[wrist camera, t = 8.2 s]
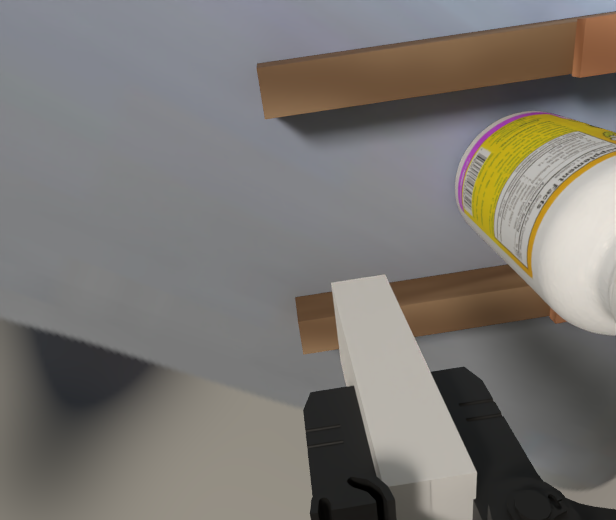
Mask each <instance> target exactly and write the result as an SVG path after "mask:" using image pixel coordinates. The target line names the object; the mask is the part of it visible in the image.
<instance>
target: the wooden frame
mask: <svg viewBox="0 0 616 520" xmlns="http://www.w3.org/2000/svg"><path fill="white" fill-rule="evenodd" d="M615 72H616V11H615V12H608V13H601V14H594V15H587V16H581V17H574V18H567V19H560V20H553V21H546V22H539V23H533V24H526V25H519V26H512V27H505V28H498V29H491V30H485V31H478V32H471V33H464V34H457V35H450V36H444V37H437V38H430V39H423V40H416V41H409V42H402V43H396V44H389V45H382V46H375V47H368V48H361V49H354V50H348V51H341V52H334V53H327V54H320V55H313V56H306V57H300V58H293V59H286V60H279V61H272V62H265V63H258V64H257V73H258V79H259V85H260V91H261V97H262V104H263V110H264V116H265V119H270V118H277V117H284V116H291V115H297V114H304V113H311V112H318V111H324V110H331V109H338V108H345V107H351V106H358V105H365V104H372V103H378V102H385V101H392V100H399V99H405V98H412V97H419V96H426V95H432V94H439V93H446V92H453V91H459V90H466V89H473V88H480V87H486V86H493V85H500V84H507V83H513V82H520V81H527V80H534V79H541V78H547V77H554V76H561V75H568V74H572V76H573V77H579V78H582V77H588V76H595V75H602V74H608V73H615ZM389 284H390V286H391V288H392V291H393V293H394V295H395V297H396V299H397V301H398V303H399V306H400V308H401V310H402V312H403V314H404V316H405V319H406V321H407V323H408V325H409V327H410V329H411V331H412V334H413V336H414V337H418V336H424V335H430V334H437V333H443V332H449V331H456V330H462V329H469V328H475V327H481V326H488V325H494V324H500V323H507V322H513V321H519V320H526V319H532V318H539V317H545V316H550V318H551V319H552V320H553V321H554V322H555V324H556V323H562V322H567V321H566V320H564V319H563V318H562V317H560V316H559V315H558V314H557V313H556V312H555V311H554V310H553V309H552V308H551V307H550V306H549V305H548V304H547V303H546V302H545V301H544V300H543V299H542V298H541V297H540V296H539V295H538V294H537V293H536V292H535V291H534V290H533V289H532V288H531V287H530V286H529V285H528V284H527V283H526V282H525V281H524V280H523V279H522V278H521V277H520V276H519V275H518V274H517V273H516V272H515V271H514V270H513V269H512V268H511V267H510V266H509V265H501V266H495V267H488V268H482V269H475V270H469V271H462V272H456V273H450V274H443V275H437V276H430V277H424V278H417V279H411V280H404V281H398V282H391V283H389ZM295 299H296V308H297V316H298V324H299V330H300V336H301V342H302V348H303V354H309V353H316V352H322V351H329V350H335V349H339V343H338V334H337V326H336V318H335V310H334V302H333V294H332V292H327V293H320V294H314V295H308V296H301V297H295Z"/></svg>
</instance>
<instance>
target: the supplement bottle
mask: <svg viewBox="0 0 616 520" xmlns="http://www.w3.org/2000/svg"><path fill="white" fill-rule="evenodd" d="M455 195H456V201H457V205H458V208H459V210H460V213H461V215H462V216H463V218H464V219H465V221H466V222H467V223H468V225H469V226H470V227H471V228H472V229H473V230H474V231H475V232H476V233H477V234H478V235H479V236H480V237H481V238H482V239H483V240H484V241H485V242H486V243H487V244H488V245H489V246H490V247H491V248H492V249H493V250H494V251H495V252H496V253H497V254H498V255H499V256H500V257H501V258H502V259H503V260H504V261H505V262H506V263H507V264H508V265H509V266H510V267H511V268H512V269H513V270H514V271H515V272H516V273H517V274H518V275H519V276H520V277H521V278H522V279H523V280H524V281H525V282H526V283H527V284H528V285H529V286H530V287H531V288H532V289H533V290H534V291H535V292H536V293H537V294H538V295H539V296H540V297H541V298H542V299H543V300H544V301H545V302H546V303H547V304H548V305H549V306H550V307H551V308H552V309H553V310H554V311H555V312H556V313H557V314H558V315H559V316H560V317H562V318H563V319H564V320H566V321H567V322H569V323H571V324H572V325H574V326H576V327H579V328H581V329H584V330H586V331H589V332H593V333H598V334H604V335H615V336H616V133H615V132H612V131H609V130H605V129H602V128H599V127H595V126H592V125H589V124H586V123H582V122H579V121H576V120H573V119H570V118H566V117H563V116H560V115H556V114H552V113H548V112H542V111H525V112H520V113H515V114H512V115H509V116H506V117H504V118H501V119H499V120H497V121H496V122H494V123H493V124H491V125H490V126H488V127H487V128H486V129H485V130H483V131H482V132H481V133H480V134H479V135H478V136H477V137H476V138H475V139H474V140H473V141H472V143H471V144H470V145H469V147H468V148H467V150H466V152H465V153H464V155H463V157H462V159H461V161H460V164H459V167H458V170H457V174H456V180H455Z"/></svg>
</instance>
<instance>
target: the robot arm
mask: <svg viewBox="0 0 616 520" xmlns="http://www.w3.org/2000/svg"><path fill="white" fill-rule="evenodd" d="M331 285H332V294H333V302H334V310H335V318H336V326H337V334H338V343H339V351H340V359H341V364H342V369H343V373H344V377H345V382H346V386H347V387H341V388H335V389H329V390H323V391H316V392H311V393H310V395H309V398H308V400H307V403H306V405H305V408H304V410H303V412H304V421H305V430H306V439H307V447H308V458H309V467H310V476H311V485H312V495H313V497H312V500H311V510H310V516H311V520H616V510H615V509H607V508H600V507H593V506H588V505H584V504H579V503H577V502H575V501H572V500H570V499H567V498H565V496H564V495H563V494H562V493H561V492H560V491H559V490H557V489H555V488H554V487H552V486H551V485H549V484H548V483H546V482H543V480H542V479H541V478H540V476H539V475H538V474H537V472H536V471H535V469H534V467H533V466H532V464H531V462H530V461H529V459H528V457H527V455H526V454H525V452H524V450H523V449H522V447H521V445H520V444H519V442H518V440H517V439H516V437H515V435H514V433H513V432H512V430H511V428H510V427H509V425H508V423H507V422H506V420H505V418H504V417H502V415H501V411H500V410H499V408H498V406H497V405H496V403H495V402H493V398H492V396H491V395H490V393H489V391H488V390H487V388H486V386H485V384H484V383H483V381H482V380H481V379H480V378H478V377H477V376H476V375H474V374H473V373H472V372H470V371H469V370H468V369H467V368H465V367H459V368H452V369H446V370H440V371H433V372H430V370H429V368H428V366H427V364H426V362H425V359H424V357H423V355H422V353H421V351H420V349H419V347H418V344H417V342H416V340H415V338H414V336H413V334H412V331H411V329H410V327H409V325H408V323H407V321H406V319H405V316H404V314H403V312H402V310H401V308H400V306H399V303H398V301H397V299H396V297H395V295H394V293H393V291H392V288H391V286H390V284H389V282H388V280H387V278H386V275H378V276H372V277H365V278H359V279H352V280H346V281H339V282H333V283H331Z"/></svg>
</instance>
